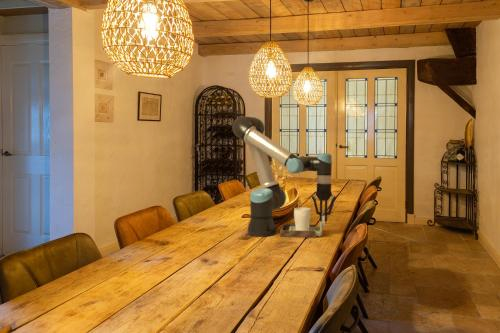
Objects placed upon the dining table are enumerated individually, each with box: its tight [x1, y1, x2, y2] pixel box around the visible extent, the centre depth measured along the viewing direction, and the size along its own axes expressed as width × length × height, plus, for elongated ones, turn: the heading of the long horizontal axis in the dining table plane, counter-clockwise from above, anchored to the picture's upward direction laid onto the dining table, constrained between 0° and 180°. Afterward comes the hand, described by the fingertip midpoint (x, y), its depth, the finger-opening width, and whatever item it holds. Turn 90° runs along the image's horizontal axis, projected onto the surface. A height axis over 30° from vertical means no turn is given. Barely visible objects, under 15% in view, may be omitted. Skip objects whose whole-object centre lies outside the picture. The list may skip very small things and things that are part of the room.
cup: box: [293, 206, 312, 231], centre depth 237 cm, size 9×9×12 cm
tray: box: [289, 220, 323, 237], centre depth 238 cm, size 17×13×6 cm
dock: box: [279, 223, 317, 239], centre depth 238 cm, size 18×16×3 cm
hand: (323, 227), depth 236 cm, fingers closed
